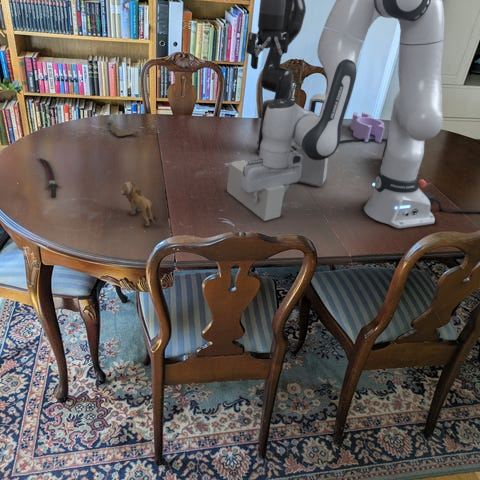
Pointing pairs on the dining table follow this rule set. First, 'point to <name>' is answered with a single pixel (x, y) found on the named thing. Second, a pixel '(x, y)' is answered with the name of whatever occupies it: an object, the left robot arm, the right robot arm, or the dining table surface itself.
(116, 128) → the jawbone
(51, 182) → the sword
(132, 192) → the lion figurine
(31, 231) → the dining table surface
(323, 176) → the electronic device
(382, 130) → the clip
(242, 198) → the box
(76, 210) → the dining table surface
